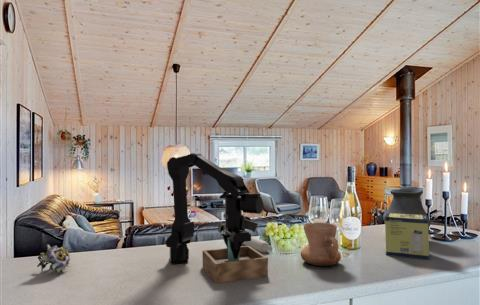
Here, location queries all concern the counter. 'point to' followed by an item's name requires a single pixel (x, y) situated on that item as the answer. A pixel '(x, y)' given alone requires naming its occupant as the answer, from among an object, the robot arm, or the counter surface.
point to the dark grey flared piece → (406, 202)
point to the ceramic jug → (321, 244)
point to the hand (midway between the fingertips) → (233, 256)
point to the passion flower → (55, 259)
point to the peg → (230, 255)
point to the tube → (257, 244)
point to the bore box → (234, 264)
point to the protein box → (407, 235)
